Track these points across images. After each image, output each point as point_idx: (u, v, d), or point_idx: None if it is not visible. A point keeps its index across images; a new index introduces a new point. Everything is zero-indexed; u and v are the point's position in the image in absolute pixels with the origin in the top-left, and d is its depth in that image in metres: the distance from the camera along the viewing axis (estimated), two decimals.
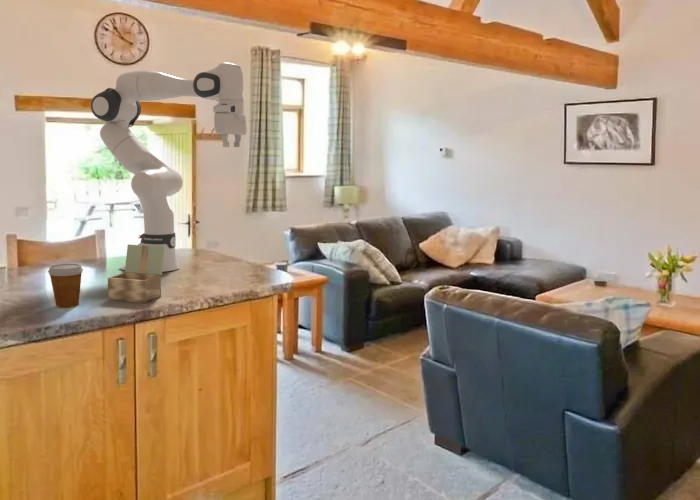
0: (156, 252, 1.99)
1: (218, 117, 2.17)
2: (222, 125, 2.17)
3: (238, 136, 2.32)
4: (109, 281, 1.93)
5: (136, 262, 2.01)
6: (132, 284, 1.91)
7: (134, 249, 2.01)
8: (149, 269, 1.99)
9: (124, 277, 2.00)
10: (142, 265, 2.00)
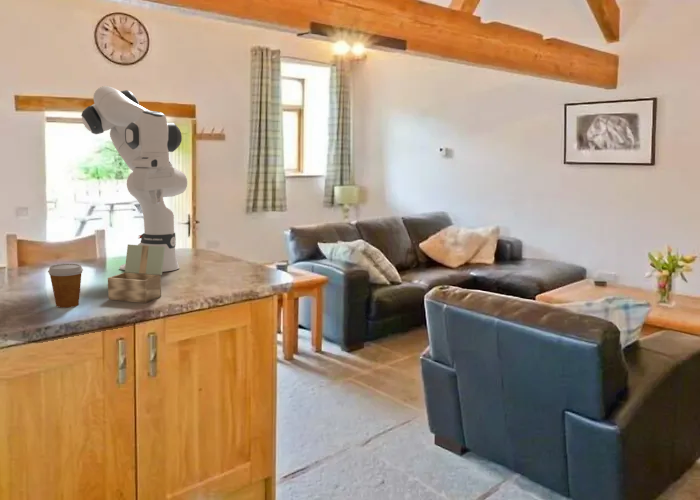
0: (156, 252, 1.99)
1: (137, 173, 1.95)
2: (142, 182, 1.94)
3: (159, 191, 2.06)
4: (109, 281, 1.93)
5: (136, 262, 2.01)
6: (132, 284, 1.91)
7: (134, 249, 2.01)
8: (149, 269, 1.99)
9: (124, 277, 2.00)
10: (142, 265, 2.00)
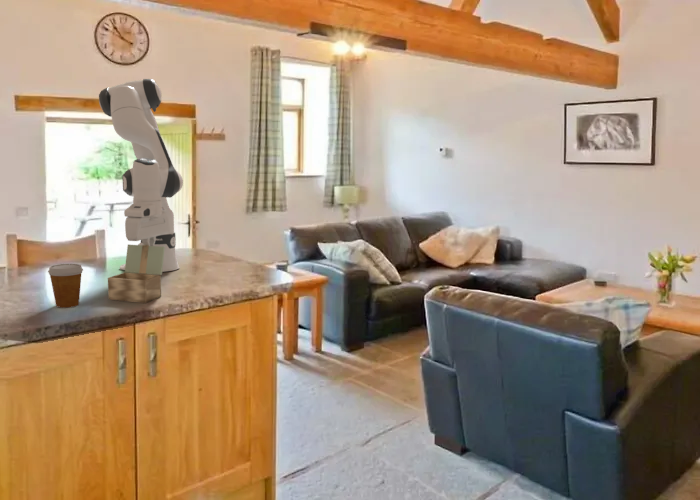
0: (156, 252, 1.99)
1: (129, 223, 1.93)
2: (134, 232, 1.92)
3: (152, 238, 2.04)
4: (109, 281, 1.93)
5: (136, 262, 2.01)
6: (132, 284, 1.91)
7: (134, 249, 2.01)
8: (149, 269, 1.99)
9: (124, 277, 2.00)
10: (142, 265, 2.00)
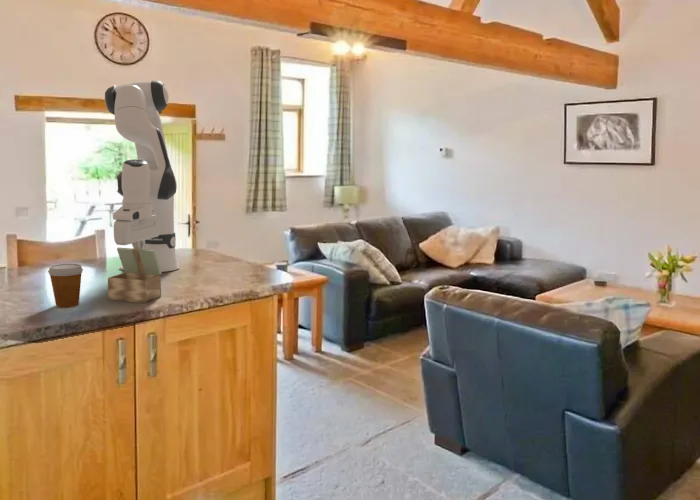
0: (148, 256, 1.95)
1: (117, 227, 1.87)
2: (122, 236, 1.87)
3: (141, 242, 1.98)
4: (109, 281, 1.93)
5: (132, 264, 1.99)
6: (132, 284, 1.91)
7: (125, 253, 1.97)
8: (147, 270, 1.99)
9: (124, 277, 2.00)
10: (140, 267, 1.99)
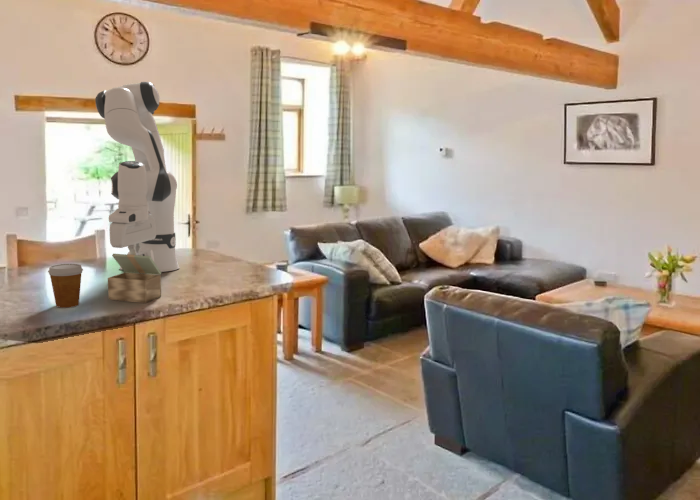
0: (145, 261, 1.93)
1: (113, 229, 1.85)
2: (118, 239, 1.85)
3: (137, 244, 1.96)
4: (109, 281, 1.93)
5: (130, 266, 1.98)
6: (132, 284, 1.91)
7: (121, 258, 1.95)
8: (147, 271, 1.98)
9: (124, 277, 2.00)
10: (138, 268, 1.98)
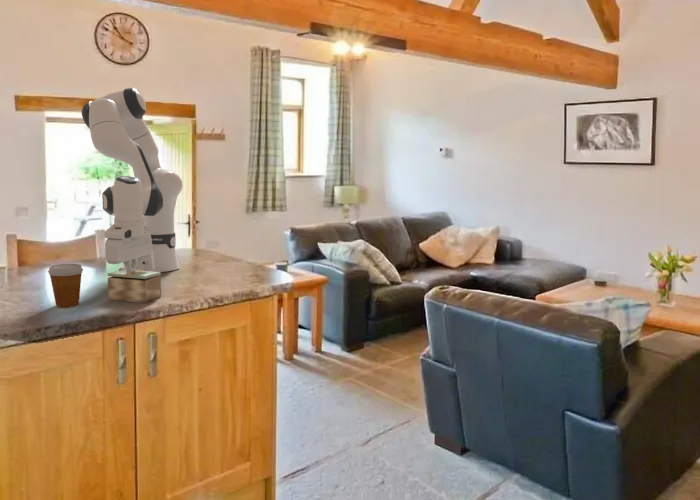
0: None
1: (109, 245, 1.83)
2: (114, 255, 1.83)
3: (133, 260, 1.94)
4: (109, 281, 1.93)
5: None
6: (132, 284, 1.91)
7: None
8: None
9: (124, 277, 2.00)
10: None
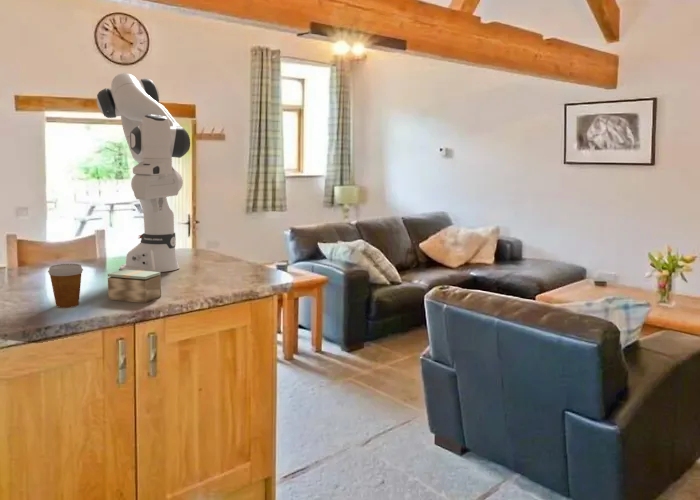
0: None
1: (138, 181, 1.84)
2: (143, 190, 1.84)
3: (161, 199, 1.95)
4: (109, 281, 1.93)
5: None
6: (132, 284, 1.91)
7: None
8: None
9: None
10: None
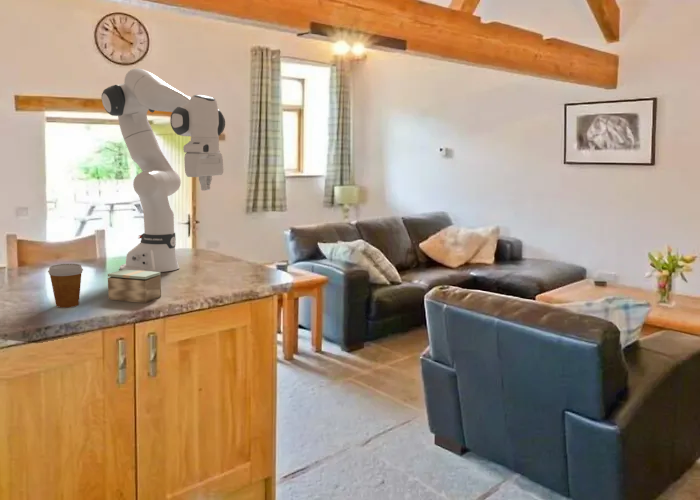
0: None
1: (189, 158, 1.90)
2: (194, 168, 1.89)
3: (208, 177, 2.01)
4: (109, 281, 1.93)
5: None
6: (132, 284, 1.91)
7: None
8: None
9: None
10: None
